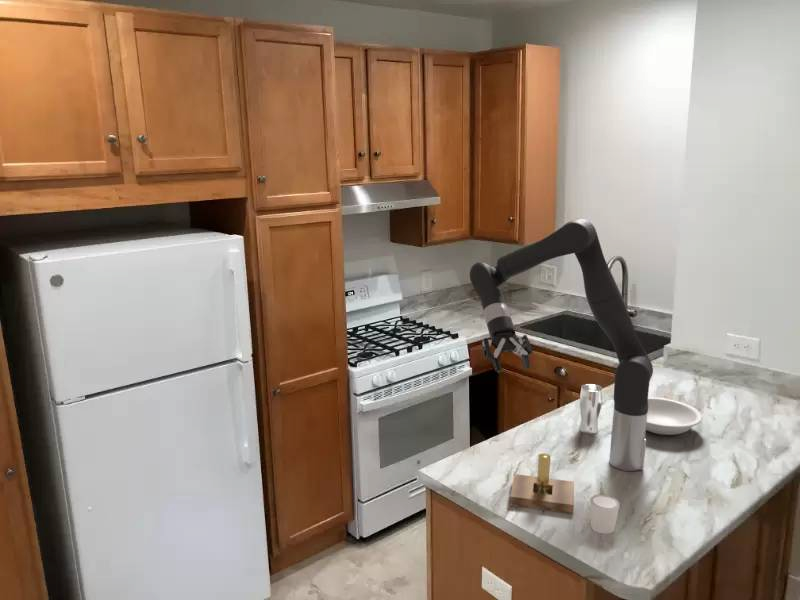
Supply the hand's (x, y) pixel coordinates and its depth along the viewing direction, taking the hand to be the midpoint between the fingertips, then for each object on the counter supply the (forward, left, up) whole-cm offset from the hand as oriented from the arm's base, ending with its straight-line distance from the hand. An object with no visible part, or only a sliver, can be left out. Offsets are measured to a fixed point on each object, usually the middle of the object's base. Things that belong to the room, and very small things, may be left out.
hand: (513, 370), depth 182 cm
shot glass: (-25, +28, -29) cm, 47 cm away
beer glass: (-23, -28, -29) cm, 47 cm away
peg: (-10, +18, -29) cm, 35 cm away
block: (-10, +18, -29) cm, 35 cm away
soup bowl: (-46, -35, -29) cm, 65 cm away
